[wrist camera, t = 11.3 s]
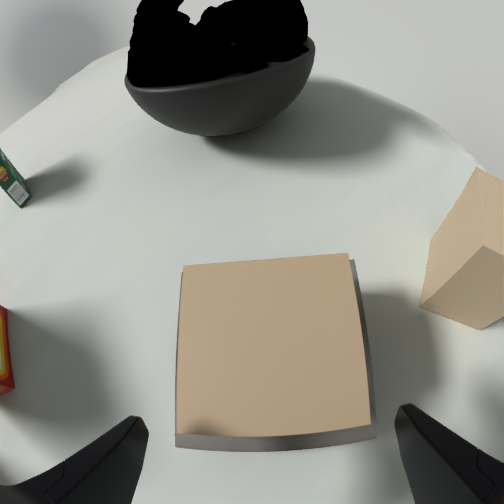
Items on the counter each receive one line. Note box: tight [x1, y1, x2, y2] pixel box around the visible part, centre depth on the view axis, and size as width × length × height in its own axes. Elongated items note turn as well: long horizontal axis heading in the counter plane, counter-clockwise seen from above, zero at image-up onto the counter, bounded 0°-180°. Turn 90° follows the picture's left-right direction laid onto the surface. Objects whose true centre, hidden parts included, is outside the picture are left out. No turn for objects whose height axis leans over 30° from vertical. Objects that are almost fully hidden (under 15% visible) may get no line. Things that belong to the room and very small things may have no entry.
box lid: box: [177, 253, 371, 437], centre depth 12 cm, size 8×8×3 cm
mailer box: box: [419, 167, 504, 330], centre depth 15 cm, size 6×6×9 cm
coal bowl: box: [125, 0, 315, 136], centre depth 24 cm, size 20×20×19 cm
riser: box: [175, 260, 377, 452], centre depth 16 cm, size 10×10×5 cm
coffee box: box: [0, 149, 31, 208], centre depth 26 cm, size 8×3×13 cm, turn 50°
